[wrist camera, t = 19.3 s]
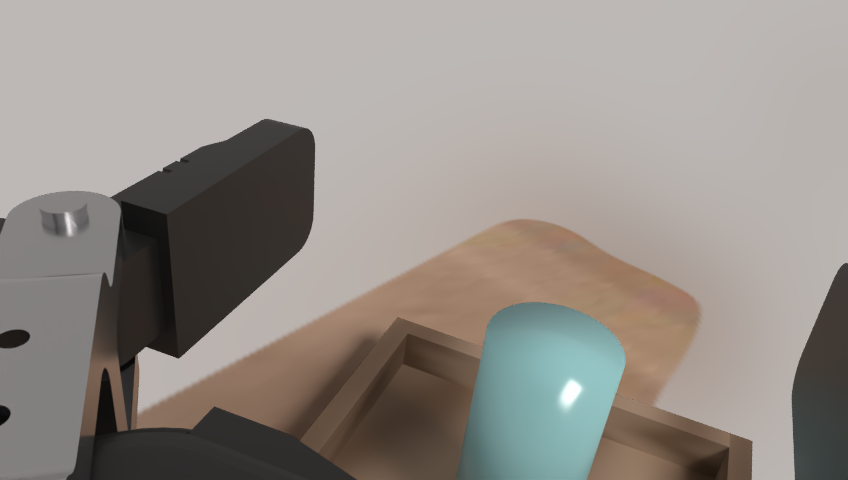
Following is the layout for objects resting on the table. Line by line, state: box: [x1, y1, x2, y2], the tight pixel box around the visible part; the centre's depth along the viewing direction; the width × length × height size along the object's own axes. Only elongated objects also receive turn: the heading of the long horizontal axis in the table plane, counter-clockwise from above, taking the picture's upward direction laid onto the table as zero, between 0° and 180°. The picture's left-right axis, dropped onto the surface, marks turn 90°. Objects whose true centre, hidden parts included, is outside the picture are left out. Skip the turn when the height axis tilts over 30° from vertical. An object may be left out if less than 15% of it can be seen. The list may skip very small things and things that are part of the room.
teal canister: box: [455, 302, 625, 480], centre depth 29 cm, size 5×5×10 cm
